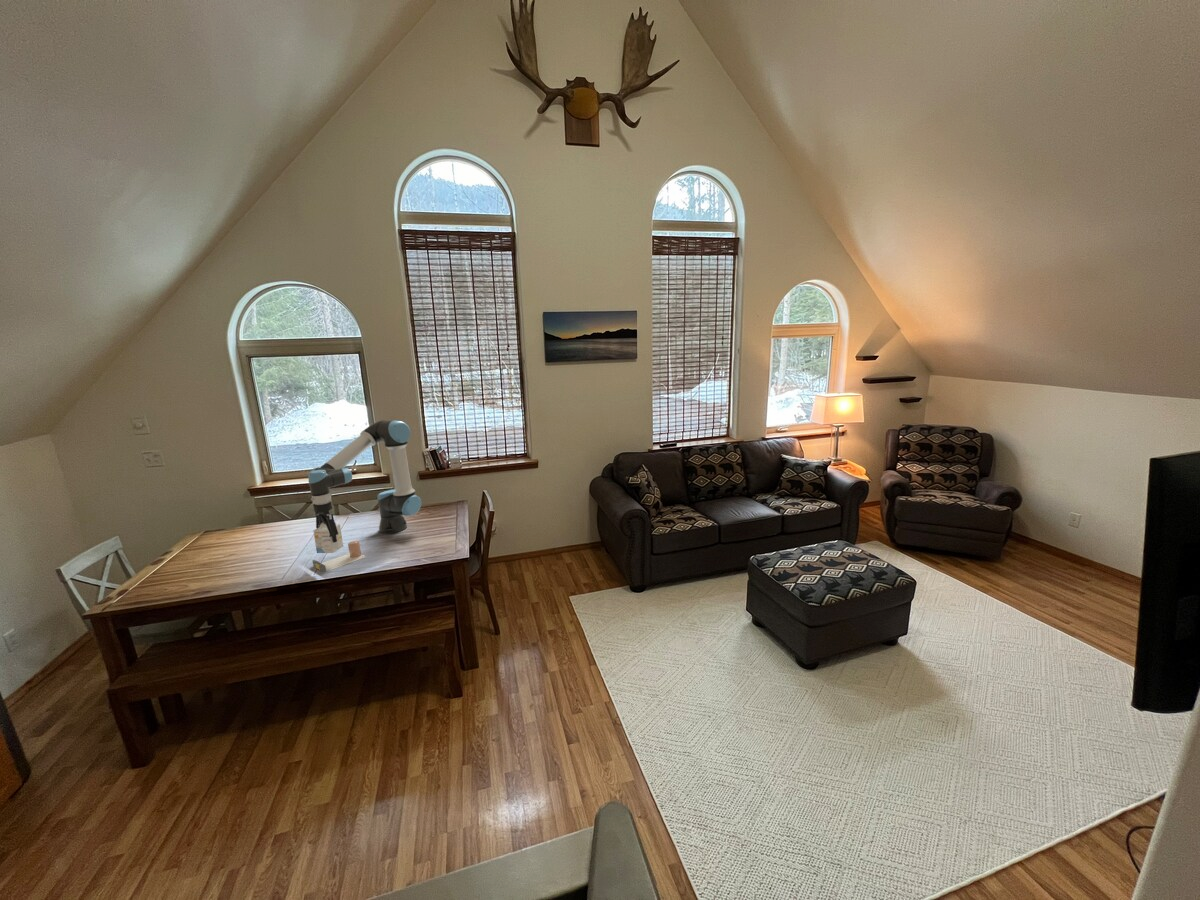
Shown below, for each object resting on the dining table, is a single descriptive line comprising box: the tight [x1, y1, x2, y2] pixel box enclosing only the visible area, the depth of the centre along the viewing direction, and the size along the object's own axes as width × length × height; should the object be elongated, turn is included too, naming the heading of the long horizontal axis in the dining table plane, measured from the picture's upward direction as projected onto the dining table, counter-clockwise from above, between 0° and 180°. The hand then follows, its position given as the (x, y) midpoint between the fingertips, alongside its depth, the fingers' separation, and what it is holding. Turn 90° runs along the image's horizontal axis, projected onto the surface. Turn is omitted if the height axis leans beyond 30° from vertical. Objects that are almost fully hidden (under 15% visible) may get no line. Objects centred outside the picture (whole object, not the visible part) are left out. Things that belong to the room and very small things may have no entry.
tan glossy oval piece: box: [347, 540, 362, 558], centre depth 239 cm, size 5×5×7 cm
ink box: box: [313, 522, 344, 554], centre depth 229 cm, size 9×8×13 cm
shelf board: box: [312, 552, 367, 573], centre depth 233 cm, size 20×12×4 cm, turn 142°
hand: (329, 545), depth 230 cm, fingers closed on ink box, 11 cm apart
